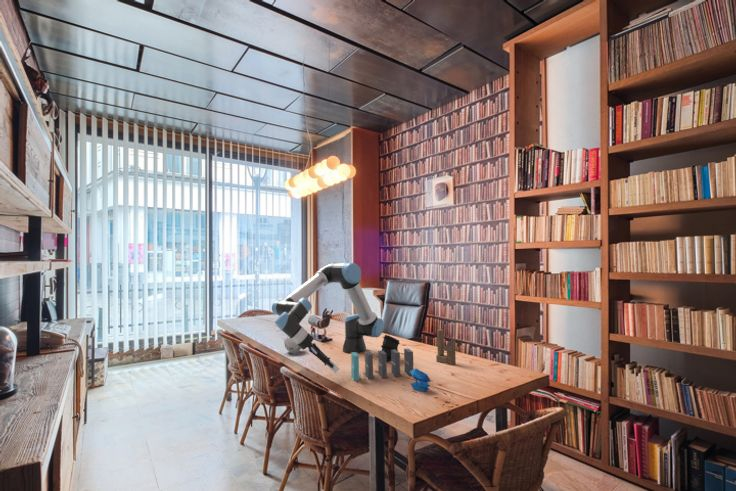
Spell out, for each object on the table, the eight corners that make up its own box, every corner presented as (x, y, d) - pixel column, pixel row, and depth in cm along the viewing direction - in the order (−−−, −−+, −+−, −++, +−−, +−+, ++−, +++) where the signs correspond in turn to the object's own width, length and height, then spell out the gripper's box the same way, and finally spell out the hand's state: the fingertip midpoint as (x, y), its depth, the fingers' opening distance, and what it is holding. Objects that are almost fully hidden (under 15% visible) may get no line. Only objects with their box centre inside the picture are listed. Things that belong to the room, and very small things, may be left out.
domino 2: (382, 378, 181) (381, 354, 182) (378, 374, 188) (378, 350, 188) (386, 378, 182) (386, 353, 182) (383, 373, 189) (382, 350, 189)
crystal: (429, 379, 159) (405, 368, 166) (425, 397, 160) (401, 386, 167) (436, 374, 165) (413, 364, 172) (432, 392, 166) (409, 381, 173)
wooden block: (452, 365, 202) (451, 332, 202) (436, 361, 210) (435, 329, 210) (456, 364, 204) (455, 331, 205) (440, 360, 212) (439, 329, 213)
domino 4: (408, 376, 184) (408, 352, 185) (404, 371, 191) (404, 348, 192) (413, 375, 185) (413, 351, 185) (408, 371, 192) (408, 348, 192)
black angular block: (376, 360, 207) (383, 334, 212) (390, 366, 216) (397, 340, 221) (381, 361, 205) (388, 335, 210) (395, 367, 213) (402, 341, 218)
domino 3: (395, 377, 183) (395, 353, 183) (391, 373, 190) (391, 349, 190) (400, 376, 183) (399, 352, 184) (395, 372, 190) (395, 349, 191)
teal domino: (354, 380, 178) (353, 356, 178) (351, 376, 185) (351, 352, 185) (359, 380, 179) (358, 355, 179) (356, 376, 185) (356, 352, 186)
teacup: (291, 355, 225) (291, 342, 225) (279, 352, 233) (279, 339, 234) (310, 351, 236) (310, 338, 237) (298, 348, 245) (298, 335, 245)
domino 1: (368, 379, 180) (368, 355, 180) (365, 375, 186) (364, 351, 187) (373, 379, 180) (373, 354, 181) (369, 374, 187) (369, 351, 187)
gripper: (296, 341, 182) (330, 372, 185) (297, 347, 169) (333, 380, 173) (307, 330, 184) (340, 361, 187) (309, 335, 171) (344, 368, 174)
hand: (337, 370), depth 180 cm, fingers closed
